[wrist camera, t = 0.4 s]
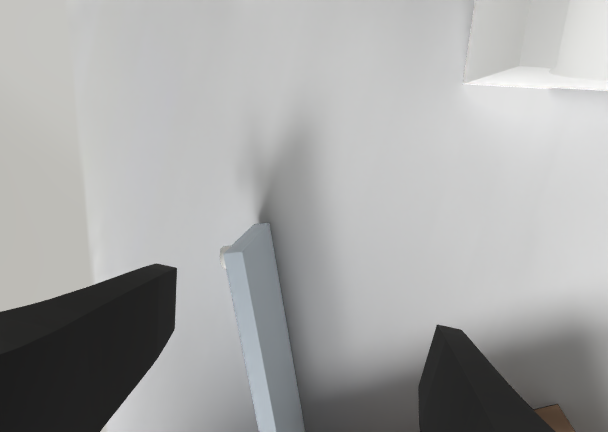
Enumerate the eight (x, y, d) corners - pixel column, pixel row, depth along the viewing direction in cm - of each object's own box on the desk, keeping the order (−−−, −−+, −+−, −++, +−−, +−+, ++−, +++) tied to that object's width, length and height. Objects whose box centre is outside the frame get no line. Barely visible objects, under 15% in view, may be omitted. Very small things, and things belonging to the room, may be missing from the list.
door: (311, 464, 24) (297, 543, 20) (285, 464, 24) (267, 542, 20) (269, 222, 21) (242, 251, 17) (241, 225, 21) (206, 255, 17)
